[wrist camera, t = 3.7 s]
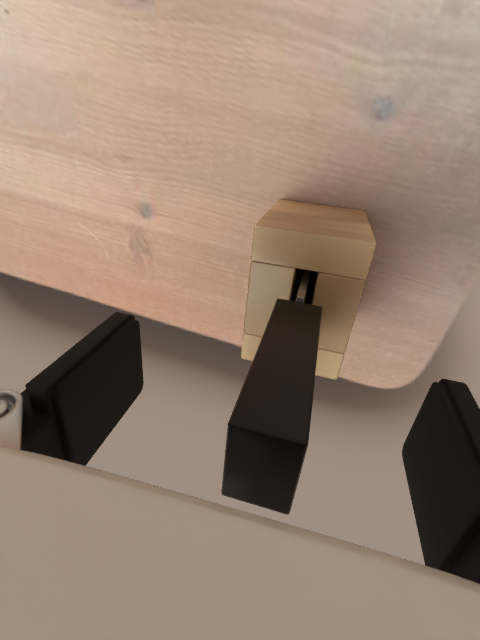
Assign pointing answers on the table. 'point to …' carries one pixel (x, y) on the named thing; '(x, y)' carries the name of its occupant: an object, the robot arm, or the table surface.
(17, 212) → the table surface
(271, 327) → the knife
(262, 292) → the knife block
